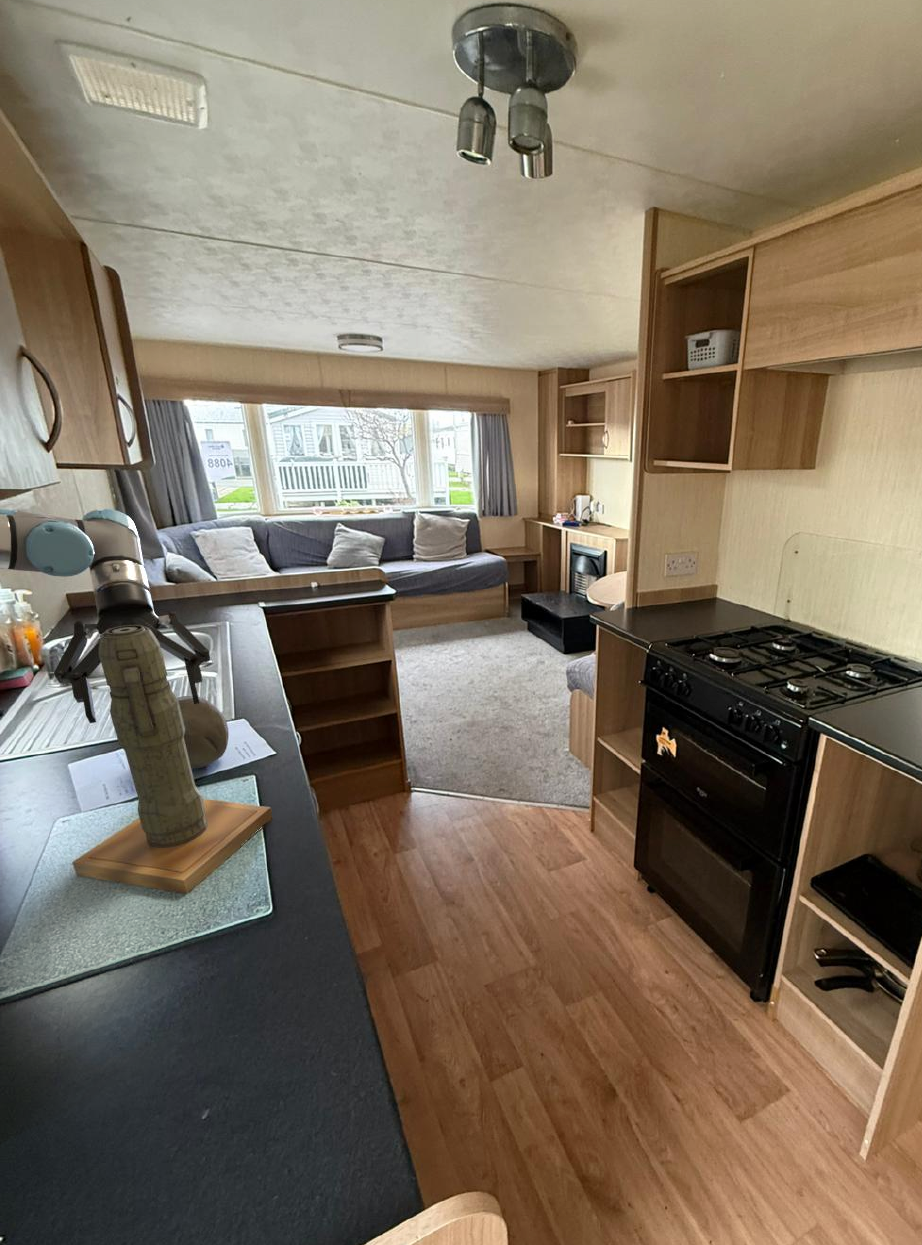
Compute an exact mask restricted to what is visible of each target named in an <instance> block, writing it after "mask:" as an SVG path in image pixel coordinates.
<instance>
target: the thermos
mask: <svg viewBox="0 0 922 1245" xmlns="http://www.w3.org/2000/svg"><path fill="white" fill-rule="evenodd" d="M99 635H100V636H99V638H100V642H99V657H100V661H101V663H100V664H101V668H102V671H103V674H104V678H105V682H106V686H108V687H109V689H110V692H109V696H110V707H109V708H110V709H109V715H110V718H111V721H112V725H113V729H114V731H115V732H114V733H115V736H116V739H117V742H118V745H119V747H121V748H122V749H123V750H124V753H125V757H126V760H127V764H128V767H129V771H130V774H131V778H132V782H133V784H134V788H135V792H136V796H137V799H138V800H137V801H138V802H137V814H138V818H140V822H141V825H142V829H143V830H144V832H145V833H146V838H147V842H148V844H150V845H151V846H153V847H158V848H168V847H173V846H178V845H181V844H184V843H187V842H189V841H191V840H193V839H195V838H197V837H198V836H200V835H201V834H202V833H203V832H204V831H205V830H206V828H207V825H208V824H207V821H206V818H205V807H204V803H203V799H204V798H203V795H202V793H201V791H200V790H199V788H198V787H197V786H196V783H195V779H194V774H193V771H192V768H191V766H190V762H189V757H188V753H187V749H186V745H185V741H184V733H185V726H184V722H183V718H182V714H181V709H180V705H179V701H178V699H177V698H178V696H177V695H176V694H175V692H174V691H173V690H172V688H171V683H170V681H168V678H167V676H168V672H167V671H168V670H167V668H166V664H165V659H164V655H163V651H162V648H161V646H160V644H159V642H158V640H157V639H156V637H155V636H154V634H153V633H152V631H151V630H150V628H148V627H143V626H142V625H125V626H119V627H114V628H111V629H108V630H106V631H105V632H104V633H102V634H99ZM202 798H203V799H202Z"/></svg>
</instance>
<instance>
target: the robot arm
mask: <svg viewBox="0 0 922 1245" xmlns="http://www.w3.org/2000/svg"><path fill="white" fill-rule="evenodd" d="M88 568H89V572H90V576H91V577H90V578H91V583H92V590H93V594H94V596H95V597H94V601H95V606H96V613H97V618H98V619H97V622H96V623H84V622H83V621H81V620H77V621H75V622H74V623H73V635H72V637H71V639H70V641H69V643H68V644H67V647H66V649H65V651H64V653H63V655H62V656H61V658H60V660H59V662H58V664H57V665H56V668H55V669H54V672H53V675H54V677H55V678H56V680H57V681H58V683H59V684H61V685H65V684H70V685H71V690H72V696H73V698H74V699H75V702H77V703H78V704H79V703H83V708H84V713H85V717H86V719H87V721H88V722H89V723H90V724H96V723H97V718H96V717H97V716H96V711H95V706H94V699H93V694H92V689H91V688H92V686H91V683H90V682H89V680H88V678H89V677H90V676H91V675H92V674H93V672H94V671H95V670H96V669H97V668H98V667H99V665H100V664H101V661H100V657H99V642H100V637H99V638H98V641H97V643H95V645H94V646H93V647H92V648H91V649H90V650H89V652H88V653H87V654H86V655H85V656H84V657H83V658H82V659H81V661H79V660H80V658H81V656H82V654H83V652H84V650H85V648H86V646H87V644H88V640H90V639H91V638H92V637H93V636H94V634H95V633H98V634H99V635H101V634H102V633H104V632H105V631H106V630H108V629H111V628H114V627H119V626H125V625H142V626H143V627H148V628H150V630H151V631H152V633H153V634H154V636H155V637H156V639H157V640H158V642H159V644H160V646H161V650H164V651H166V652H167V653H169V654H171V655H172V656H174V657H176V658H177V659H179V660H181V661H182V662H184V666H185V669H186V674H187V678H188V679H187V680H188V683H189V687H190V693H191V696H192V697H193V701H194V704H199V699H198V697H199V695H198V691H197V686H196V684H200V683H202V682H203V675H202V672H201V664H202V663H208V662H210V660H211V655H210V651H209V649H208V648H207V647H206V646H205V645H204V644H203V643H202V642H201V641H200V640H199V639H198V638H197V637H196V635H194V634H193V633H192V632H191V631H190V630H189V629H188V628H187V627H186V626H185V625H184V623H182V622H181V621H180V618H179V616H178V613H177V612H176V611H175V610H169V611H168V612H167V614H165V615H159V616H158V615H157V614H156V613H155V610H154V604H153V599H152V595H151V591H150V585H149V581H148V576H147V572H146V569H145V564H144V559H143V553H142V548H141V539H140V536H139V533H138V530H137V528H136V525H135V523H134V521H133V520H132V518H131V517H130V516H129V515H127V514H126V513H123V512H122V511H119V510H116V509H110V508H104V509H101V510H98V509H93V510H91V511H89V512H87V513H85V514H84V516H83V517H82V518H81V519H73V518H65V517H60V516H54V515H48V514H41V513H35V512H28V511H22V510H19V509H6V508H5V509H4V508H0V569H1V570H13V571H20V572H21V571H23V572H34V573H35V572H37V573H43V574H46V575H49V576H51V577H62V578H63V577H64V578H67V577H73V576H77V575H79V574H81V573H83V572H85V571H86V570H87V569H88ZM161 625H164V626H165V627H166V628H168V629H169V630H172V631H173V632H174V633H175V634H176V636H177V637H179V639H180V640H181V641H182V642H184V644H185V645H186V646H187V647H188V648H186V647H185V646H182V645H181V644H180V643H178V642H177V641H174V640H173V639H171V638H170V637H168V636H166V635H165V634H163V633H162V632H161V631H160V630H159V628H160V627H161ZM189 649H190V650H189ZM191 650H192V651H191Z"/></svg>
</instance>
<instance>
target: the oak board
mask: <svg viewBox="0 0 922 1245" xmlns="http://www.w3.org/2000/svg"><path fill="white" fill-rule="evenodd" d="M202 799H203V803H204V807H205V818H206V821H207V824H208V825H207V828H206V830H205V831H204V832H203V833H202V834H201V835H200V836H198V837H197V838H195V839H193V840H191V841H189V842H187V843H184V844H181V845H178V846H173V847H168V848H158V847H153V846H151V845H150V844H148V842H147V838H146V833H145V832H144V830H143V829H142V825H141V822H140V818H139V817H138V818H137V819H135V820H134V821H132V822H130V823H128V824H127V825H126V826H125V827H123V828H121V829H120V830H119V831H117V832H115V833H114V834H112V835H111V836H109V837H108V838H106V839H105V840H104V841H101V842H100V843H99V844H97V845H95V847H93V848H91V849H90V850H88V851H86V852H85V853H83V854H82V855H81V856H79V857H78V858H76V859H75V860H73V861H72V866H73V869H74V872H75V876H78V877H85V878H89V879H95V880H96V879H97V880H101V881H109V882H112V883H113V882H115V883H120V884H126V885H131V886H138V887H144V888H151V889H156V890H162V891H168V892H175V893H180V894H189V893H190V892H191V891H192V890H193V889H195V888H196V887H197V886H198V885H199V884H200V883H201V882H203V881H204V880H205V879H206V878H207V877H208V876H209V875H211V874H212V873H213V872H214V871H215V870H217V869H218V868H219V867H220V866H221V865H222V864H224V862H225V861H227V860H228V859H229V858H230V857H231V856H232V855H233V854H234V853H236V852H237V851H238V850H239V849H240V848H241V847H242V846H243V845H245V844H246V843H247V842H248V841H249V840H250V839H252V838H253V837H254V836H256V834H257V833H255V832H256V831H257V830H259V829H260V828H261V827H262V826H263V825H264V824H265V823H266V822H268V821H269V820H270V821H269V822H268V823H267V824H266V825H268V824H269V823H270V822H271V821H273V815H272V814H273V813H272V809H271V807H269V806H262V805H255V804H249V803H247V804H246V803H239V802H232V801H225V800H218V799H217V800H216V799H209V798H203V797H202ZM271 818H272V819H271ZM264 827H265V826H263V827H262V828H261V829H260V830H259V831H258V832H260V831H261V830H262V829H263V828H264ZM253 834H254V835H253ZM252 835H253V836H252ZM250 837H251V838H250ZM249 838H250V839H249ZM248 839H249V840H248ZM246 840H247V841H246ZM245 841H246V842H245ZM244 842H245V843H244ZM243 843H244V844H243ZM242 844H243V845H242ZM241 845H242V846H241ZM240 846H241V847H240Z"/></svg>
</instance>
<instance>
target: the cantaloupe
mask: <svg viewBox="0 0 922 1245" xmlns="http://www.w3.org/2000/svg"><path fill="white" fill-rule="evenodd" d="M177 699H178V701H179V705H180V709H181V714H182V718H183V722H184V726H185V733H184V741H185V745H186V749H187V753H188V757H189V762H190V766H191V769H201V768H202V769H203V768H205V767H207V766H209V765H212V764H213V763H215V762H216V761H218V760H220V758H222V757H223V755H224V754H225V753H226V751H227V749H228V744H229V737H230V736H229V733H230V732H229V726H228V723H227V720H226V718H225V716H224V714H223V713H222V712H221V710H220V709H219V708H218V707H217V706H216V705H214V704H213V703H211V702H210V701H209V700H208V699H205V698H203V697H200V696H198V699H199V704H194V701H193V697H192V695H184V696H179V697H178V696H177Z"/></svg>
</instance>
